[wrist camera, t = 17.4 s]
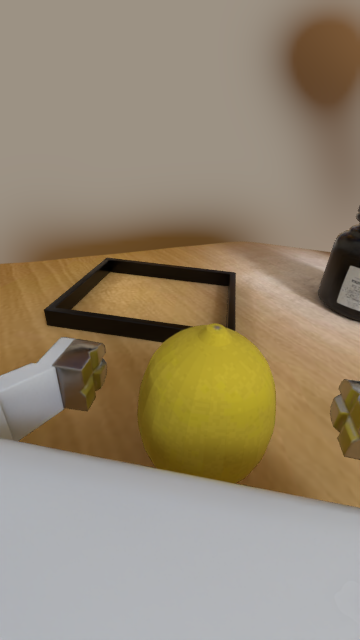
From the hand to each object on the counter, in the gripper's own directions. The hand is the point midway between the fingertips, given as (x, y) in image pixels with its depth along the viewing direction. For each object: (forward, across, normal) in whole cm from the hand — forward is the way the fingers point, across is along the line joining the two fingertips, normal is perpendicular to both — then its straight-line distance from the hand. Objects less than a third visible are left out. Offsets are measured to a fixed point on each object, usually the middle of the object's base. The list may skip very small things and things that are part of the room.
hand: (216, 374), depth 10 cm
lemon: (+1, 0, +7) cm, 7 cm away
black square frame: (+17, +6, +6) cm, 19 cm away
